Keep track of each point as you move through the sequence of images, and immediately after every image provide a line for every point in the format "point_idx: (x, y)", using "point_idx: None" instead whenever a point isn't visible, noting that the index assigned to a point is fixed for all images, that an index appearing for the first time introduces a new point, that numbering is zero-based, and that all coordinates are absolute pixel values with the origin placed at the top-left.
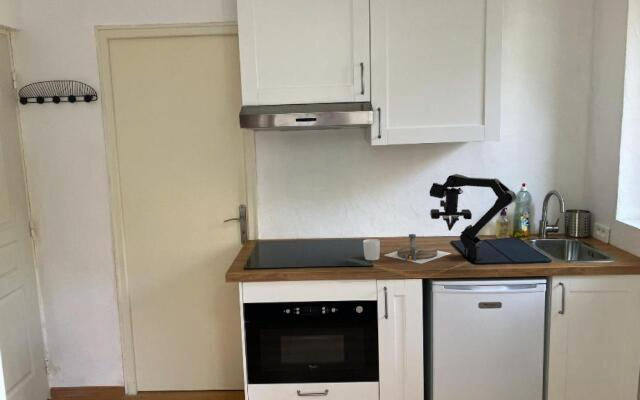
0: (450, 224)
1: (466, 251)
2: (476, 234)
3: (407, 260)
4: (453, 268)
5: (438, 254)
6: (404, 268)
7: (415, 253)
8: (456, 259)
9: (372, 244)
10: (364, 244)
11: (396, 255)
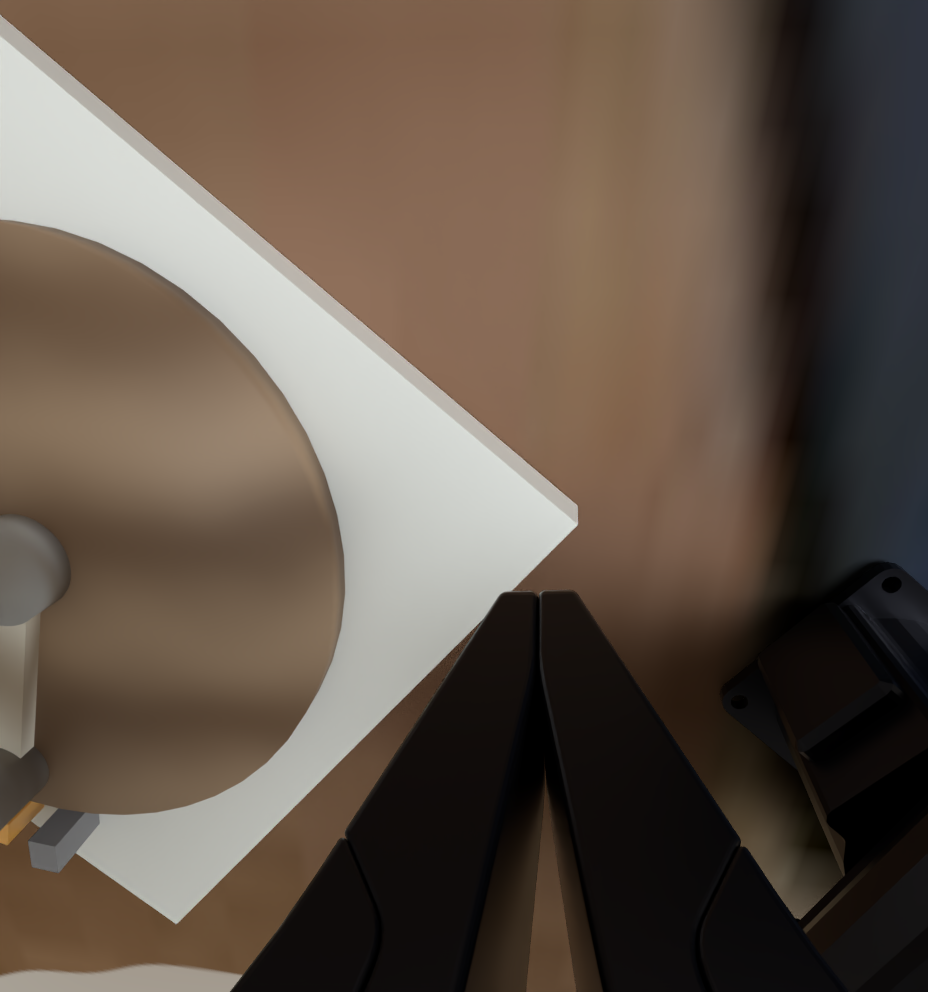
0: (573, 903)
1: (813, 799)
2: None
3: None
4: (535, 982)
5: (362, 574)
6: (49, 914)
7: (26, 713)
8: (627, 663)
9: None
10: None
11: None
